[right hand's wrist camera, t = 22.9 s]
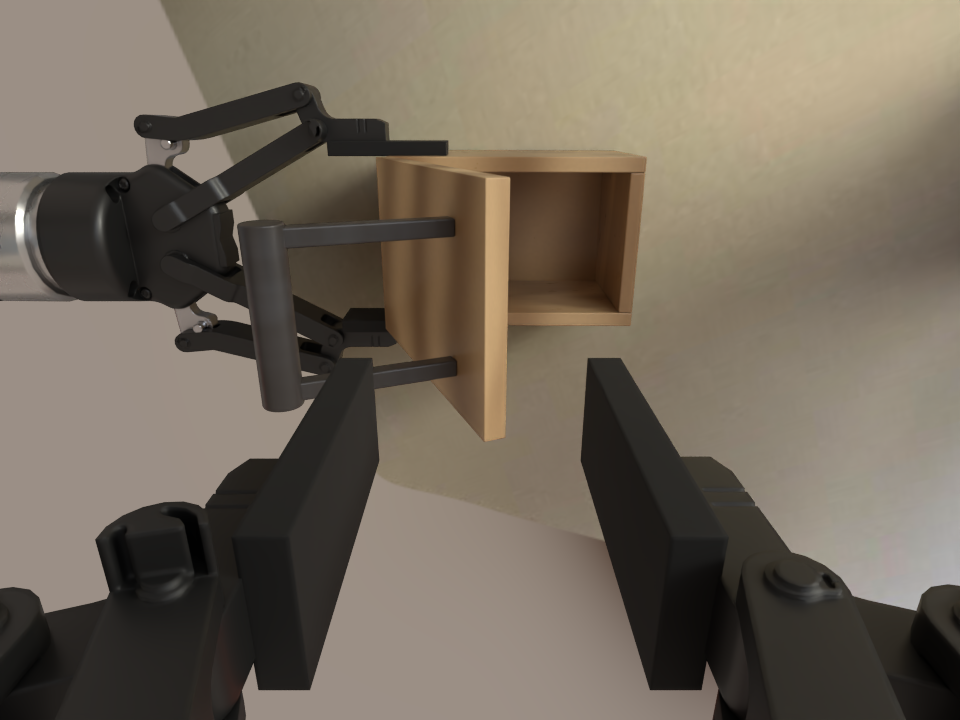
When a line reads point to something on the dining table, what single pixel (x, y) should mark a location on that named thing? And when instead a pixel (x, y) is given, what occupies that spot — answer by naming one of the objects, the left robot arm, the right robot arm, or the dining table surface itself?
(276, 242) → the lid
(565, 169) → the chest
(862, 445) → the dining table surface
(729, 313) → the dining table surface
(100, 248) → the left robot arm
